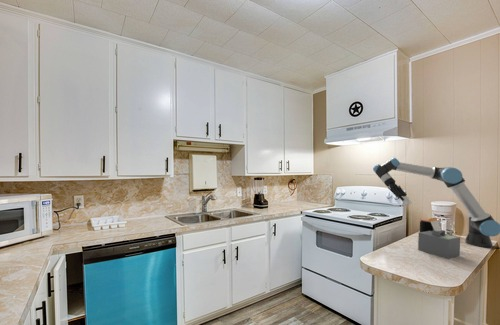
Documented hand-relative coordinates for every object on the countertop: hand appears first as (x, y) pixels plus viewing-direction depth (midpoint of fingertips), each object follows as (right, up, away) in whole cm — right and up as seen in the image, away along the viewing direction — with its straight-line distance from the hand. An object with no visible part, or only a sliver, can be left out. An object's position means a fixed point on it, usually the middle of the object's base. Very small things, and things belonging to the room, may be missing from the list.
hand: (408, 203), depth 182 cm
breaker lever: (+9, -17, -19) cm, 27 cm away
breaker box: (+8, -30, -18) cm, 36 cm away
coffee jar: (+17, -31, +3) cm, 35 cm away
